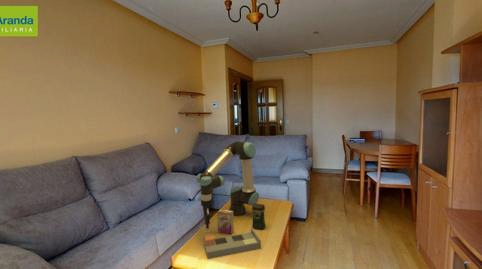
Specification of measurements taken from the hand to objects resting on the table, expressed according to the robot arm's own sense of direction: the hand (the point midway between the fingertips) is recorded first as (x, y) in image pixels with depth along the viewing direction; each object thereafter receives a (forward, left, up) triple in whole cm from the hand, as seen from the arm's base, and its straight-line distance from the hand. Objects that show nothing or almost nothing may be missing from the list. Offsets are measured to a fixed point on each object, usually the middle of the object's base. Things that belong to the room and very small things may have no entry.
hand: (207, 232), depth 169 cm
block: (+8, 0, -4) cm, 9 cm away
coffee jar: (-6, +41, -7) cm, 42 cm away
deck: (+12, +14, -6) cm, 19 cm away
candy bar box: (-7, +15, -7) cm, 18 cm away
